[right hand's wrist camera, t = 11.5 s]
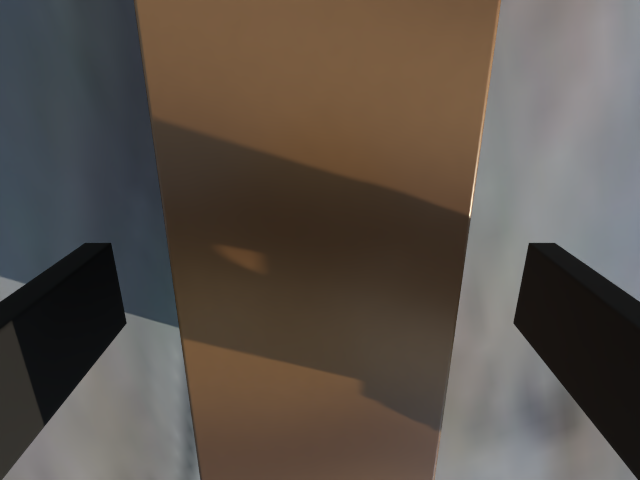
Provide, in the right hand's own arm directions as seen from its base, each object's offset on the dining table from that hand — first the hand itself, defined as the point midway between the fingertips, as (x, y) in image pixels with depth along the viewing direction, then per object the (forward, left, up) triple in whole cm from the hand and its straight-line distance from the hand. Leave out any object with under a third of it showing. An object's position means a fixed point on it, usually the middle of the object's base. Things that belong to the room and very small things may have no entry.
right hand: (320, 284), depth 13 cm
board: (+6, +20, -3) cm, 21 cm away
